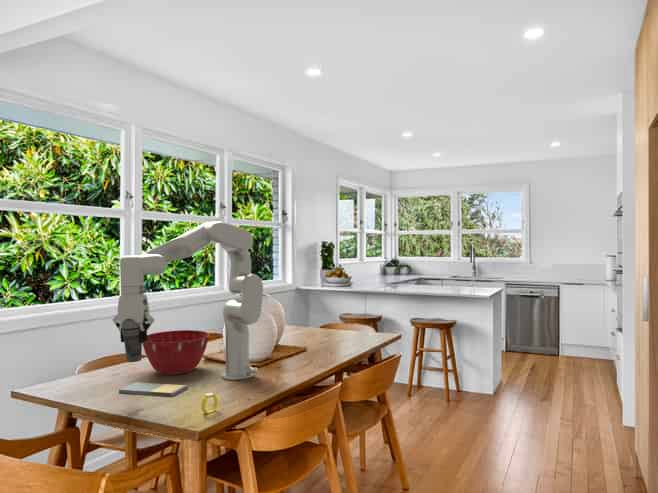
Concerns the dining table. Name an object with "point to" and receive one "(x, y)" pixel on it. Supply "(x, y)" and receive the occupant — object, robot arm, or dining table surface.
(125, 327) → the beverage cup
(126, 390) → the grey yellow flat slab
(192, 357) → the mixing bowl
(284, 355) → the dining table surface
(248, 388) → the dining table surface
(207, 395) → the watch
